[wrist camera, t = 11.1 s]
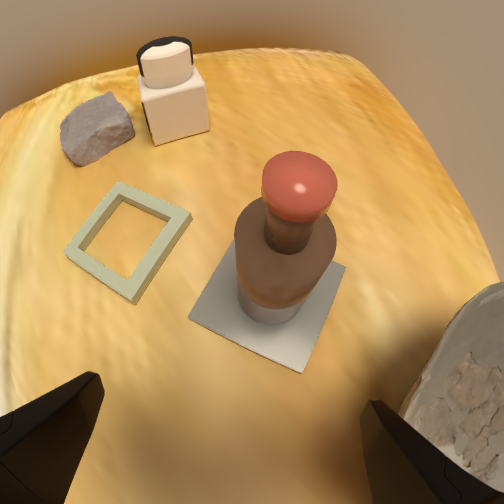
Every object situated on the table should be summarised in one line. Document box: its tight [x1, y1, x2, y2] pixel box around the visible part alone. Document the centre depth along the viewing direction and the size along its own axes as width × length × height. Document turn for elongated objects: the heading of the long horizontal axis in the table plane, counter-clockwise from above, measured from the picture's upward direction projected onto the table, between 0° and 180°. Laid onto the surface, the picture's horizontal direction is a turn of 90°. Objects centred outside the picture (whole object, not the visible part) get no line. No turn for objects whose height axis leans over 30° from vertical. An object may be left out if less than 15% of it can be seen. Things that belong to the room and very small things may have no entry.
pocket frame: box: [63, 181, 192, 305], centre depth 26 cm, size 10×10×1 cm
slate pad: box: [188, 238, 346, 374], centre depth 24 cm, size 10×10×1 cm
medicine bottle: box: [136, 36, 210, 146], centre depth 29 cm, size 7×7×12 cm
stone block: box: [60, 91, 135, 167], centre depth 33 cm, size 12×5×10 cm
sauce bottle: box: [234, 151, 337, 325], centre depth 17 cm, size 5×5×14 cm
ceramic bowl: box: [398, 282, 504, 492], centre depth 14 cm, size 22×23×10 cm
